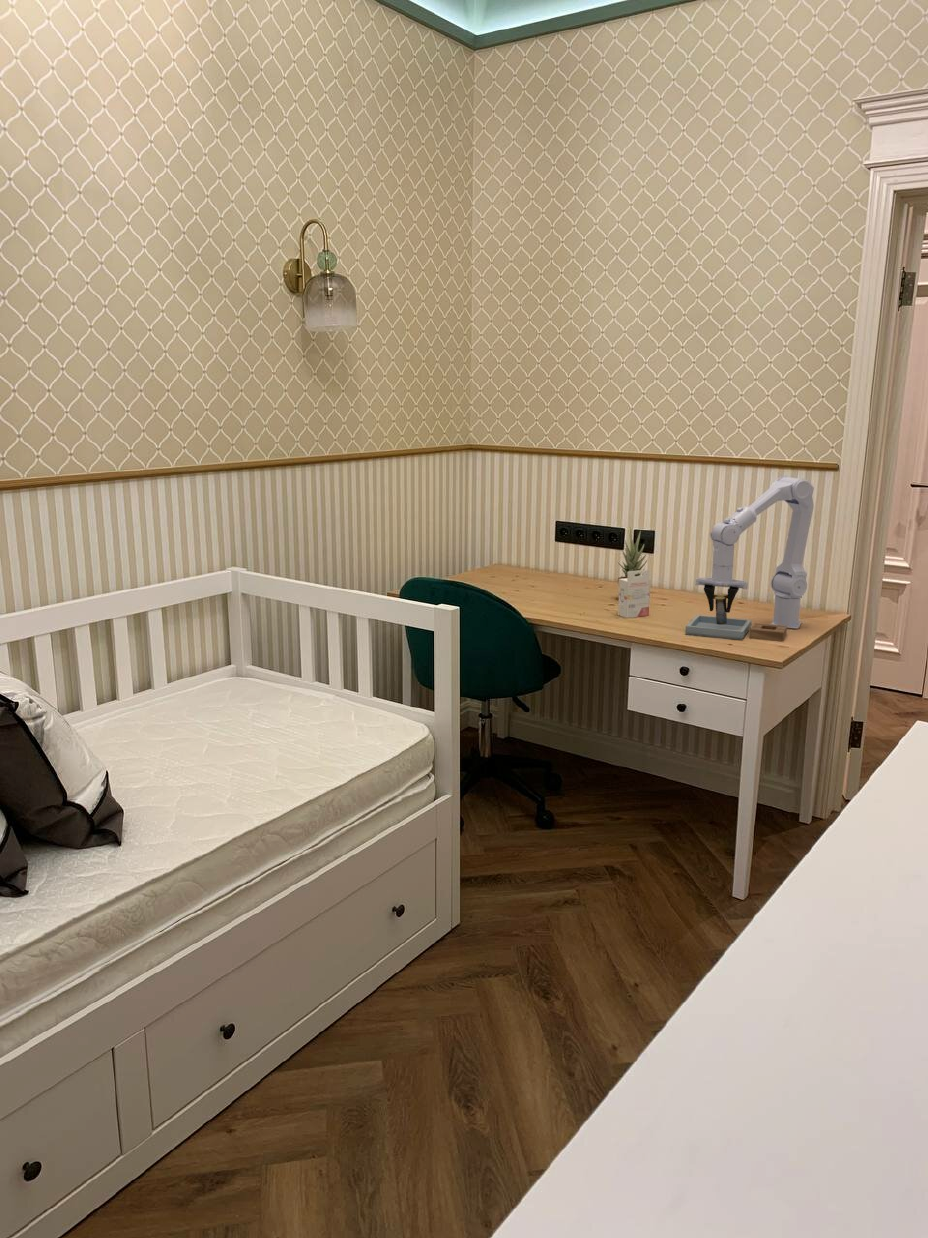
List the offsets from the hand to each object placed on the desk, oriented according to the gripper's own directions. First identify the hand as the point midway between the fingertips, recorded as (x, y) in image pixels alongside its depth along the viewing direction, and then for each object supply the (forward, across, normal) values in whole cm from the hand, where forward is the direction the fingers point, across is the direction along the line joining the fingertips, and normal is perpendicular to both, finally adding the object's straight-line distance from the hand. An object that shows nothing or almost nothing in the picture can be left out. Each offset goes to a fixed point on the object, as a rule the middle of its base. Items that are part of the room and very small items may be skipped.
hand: (719, 611), depth 282 cm
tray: (+6, 0, 0) cm, 6 cm away
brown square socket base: (+6, +14, 0) cm, 15 cm away
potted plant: (+6, -35, +33) cm, 49 cm away
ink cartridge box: (+6, -28, +10) cm, 30 cm away
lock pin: (+4, +1, 0) cm, 4 cm away
